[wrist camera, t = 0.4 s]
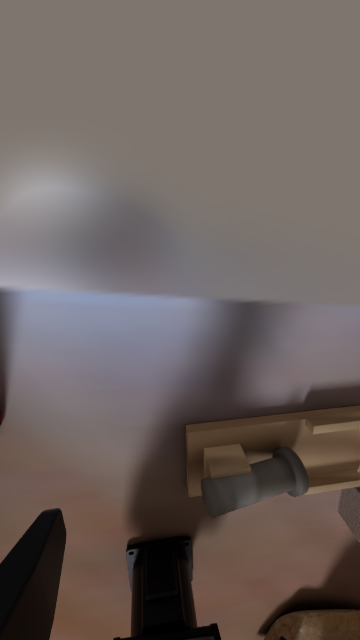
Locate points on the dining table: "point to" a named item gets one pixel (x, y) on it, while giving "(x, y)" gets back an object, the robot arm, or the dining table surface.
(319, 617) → the stone cup
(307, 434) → the shaft bench
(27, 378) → the dining table surface
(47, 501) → the dining table surface
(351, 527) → the block
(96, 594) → the dining table surface
